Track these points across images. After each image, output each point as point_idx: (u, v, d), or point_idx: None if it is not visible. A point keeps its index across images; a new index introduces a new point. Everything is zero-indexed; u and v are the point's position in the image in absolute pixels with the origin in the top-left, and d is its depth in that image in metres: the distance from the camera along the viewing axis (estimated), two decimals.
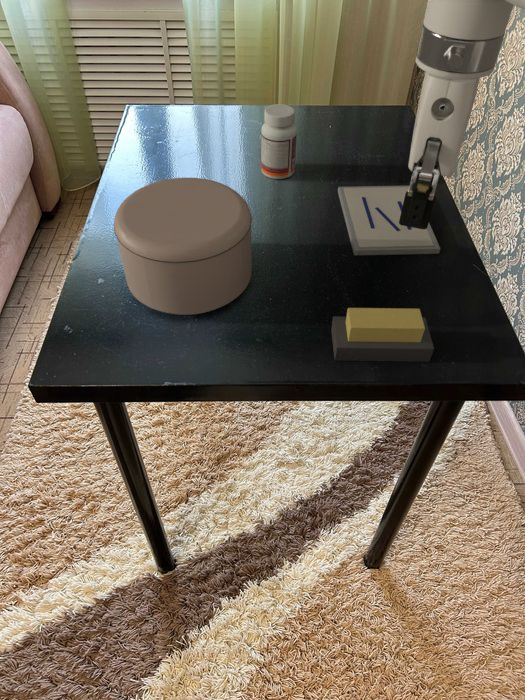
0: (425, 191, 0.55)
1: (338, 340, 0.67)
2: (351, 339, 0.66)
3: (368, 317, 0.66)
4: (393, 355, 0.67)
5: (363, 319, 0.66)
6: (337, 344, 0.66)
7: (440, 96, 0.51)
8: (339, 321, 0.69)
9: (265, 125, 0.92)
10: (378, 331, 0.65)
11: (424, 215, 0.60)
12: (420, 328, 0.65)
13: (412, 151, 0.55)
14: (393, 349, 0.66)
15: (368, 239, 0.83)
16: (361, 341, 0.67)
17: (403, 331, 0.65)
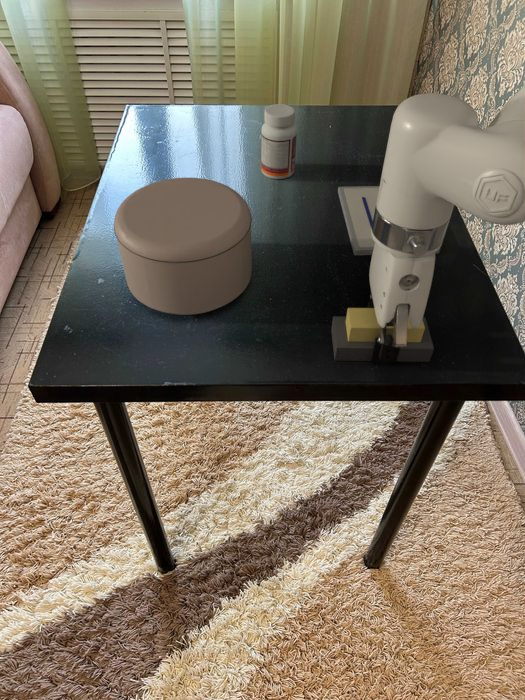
0: None
1: (338, 340, 0.67)
2: (351, 339, 0.66)
3: (368, 317, 0.66)
4: None
5: (363, 319, 0.66)
6: (337, 344, 0.66)
7: (406, 273, 0.55)
8: (339, 321, 0.69)
9: (265, 125, 0.92)
10: (378, 331, 0.65)
11: None
12: (420, 328, 0.65)
13: (383, 314, 0.59)
14: None
15: (368, 239, 0.83)
16: (361, 341, 0.67)
17: None
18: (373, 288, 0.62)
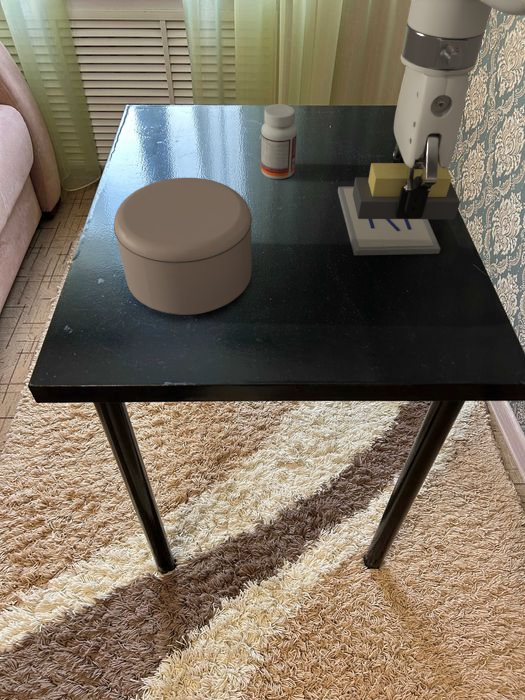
0: (427, 186, 0.59)
1: (362, 195, 0.65)
2: (375, 193, 0.65)
3: (392, 170, 0.64)
4: None
5: (388, 171, 0.64)
6: (361, 199, 0.64)
7: (439, 94, 0.53)
8: (362, 181, 0.67)
9: (265, 125, 0.92)
10: (403, 183, 0.64)
11: None
12: (446, 178, 0.63)
13: (412, 149, 0.57)
14: None
15: (368, 239, 0.83)
16: (386, 196, 0.65)
17: None
18: (400, 131, 0.60)
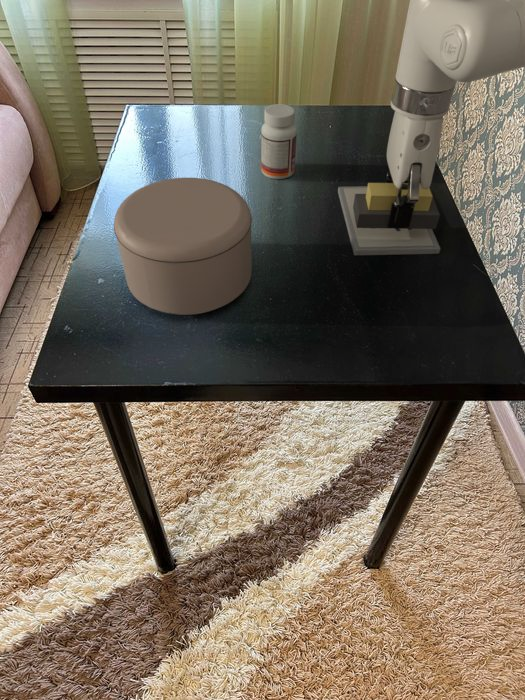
0: (412, 203, 0.74)
1: (360, 209, 0.80)
2: (371, 207, 0.80)
3: (385, 188, 0.79)
4: None
5: (381, 190, 0.79)
6: (359, 212, 0.80)
7: (419, 133, 0.68)
8: (360, 196, 0.82)
9: (265, 125, 0.92)
10: (393, 199, 0.79)
11: (406, 218, 0.79)
12: (428, 196, 0.78)
13: (399, 174, 0.72)
14: None
15: (368, 239, 0.83)
16: (379, 210, 0.80)
17: None
18: (391, 159, 0.76)
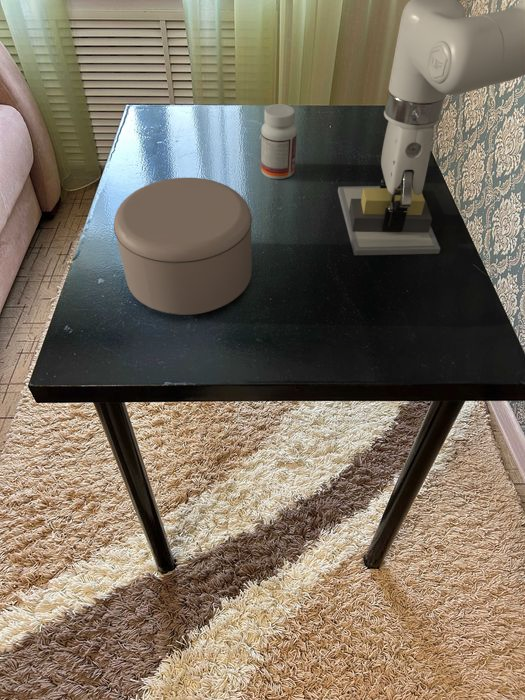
0: (404, 208, 0.78)
1: (356, 213, 0.83)
2: (366, 212, 0.83)
3: (379, 194, 0.83)
4: None
5: (376, 195, 0.82)
6: (355, 216, 0.83)
7: (411, 141, 0.72)
8: (356, 201, 0.86)
9: (265, 125, 0.92)
10: (387, 204, 0.82)
11: (400, 222, 0.82)
12: (421, 201, 0.82)
13: (393, 180, 0.76)
14: None
15: (368, 239, 0.83)
16: (374, 214, 0.83)
17: None
18: (384, 165, 0.79)
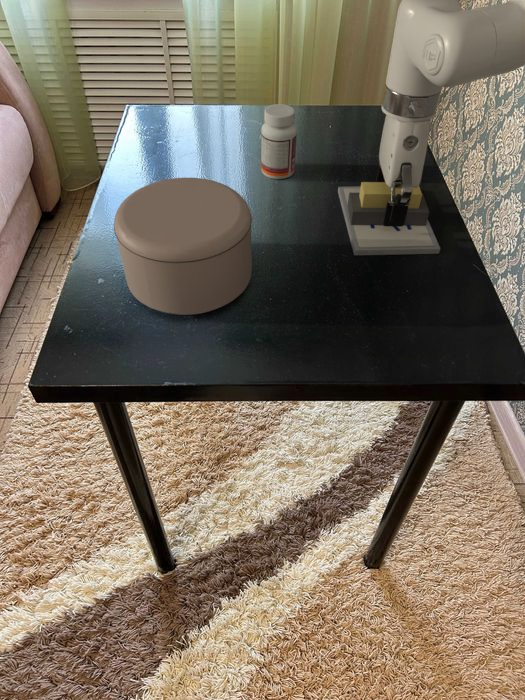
0: (406, 200, 0.77)
1: (354, 207, 0.85)
2: (364, 205, 0.84)
3: (377, 187, 0.84)
4: None
5: (374, 188, 0.84)
6: (353, 209, 0.84)
7: (408, 135, 0.73)
8: (354, 195, 0.87)
9: (265, 125, 0.92)
10: (385, 197, 0.83)
11: (401, 216, 0.82)
12: (418, 194, 0.83)
13: (390, 173, 0.77)
14: None
15: (368, 239, 0.83)
16: (372, 208, 0.85)
17: None
18: (382, 159, 0.80)
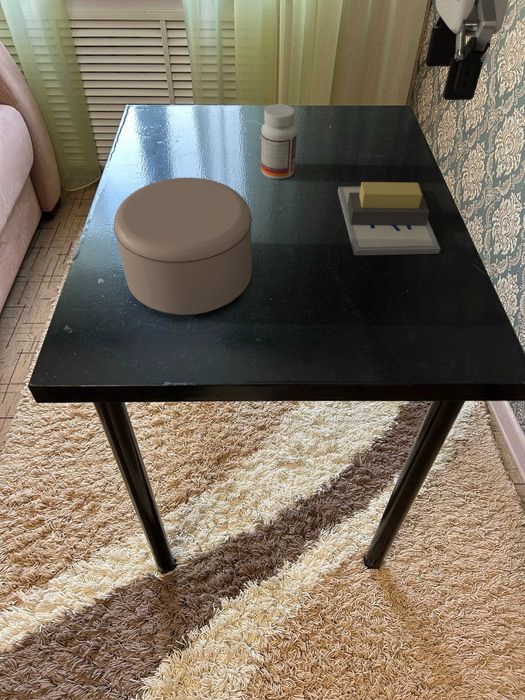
0: (484, 45, 0.52)
1: (354, 207, 0.85)
2: (364, 205, 0.84)
3: (377, 187, 0.84)
4: (397, 219, 0.85)
5: (374, 188, 0.84)
6: (353, 209, 0.84)
7: None
8: (354, 195, 0.87)
9: (265, 125, 0.92)
10: (385, 197, 0.83)
11: (471, 82, 0.56)
12: (418, 194, 0.83)
13: (460, 6, 0.52)
14: (397, 213, 0.84)
15: (368, 239, 0.83)
16: (372, 208, 0.85)
17: (405, 197, 0.83)
18: None
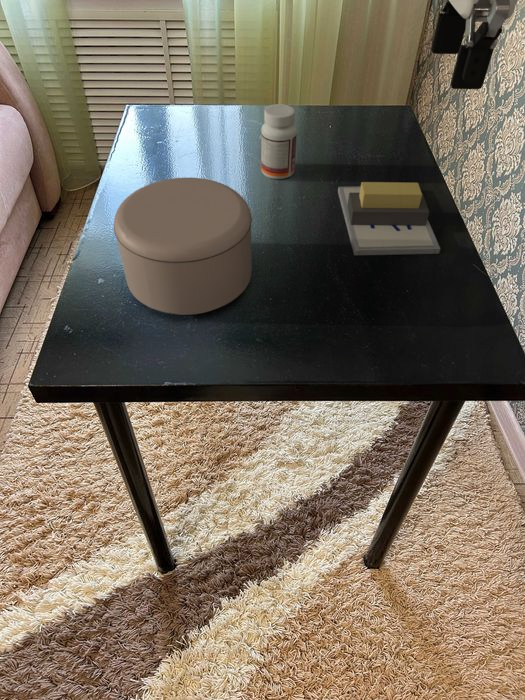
0: (496, 31, 0.49)
1: (354, 207, 0.85)
2: (364, 205, 0.84)
3: (377, 187, 0.84)
4: (397, 219, 0.85)
5: (374, 188, 0.84)
6: (353, 209, 0.84)
7: None
8: (354, 195, 0.87)
9: (265, 125, 0.92)
10: (385, 197, 0.83)
11: None
12: (418, 194, 0.83)
13: None
14: (397, 213, 0.84)
15: (368, 239, 0.83)
16: (372, 208, 0.85)
17: (405, 197, 0.83)
18: None
